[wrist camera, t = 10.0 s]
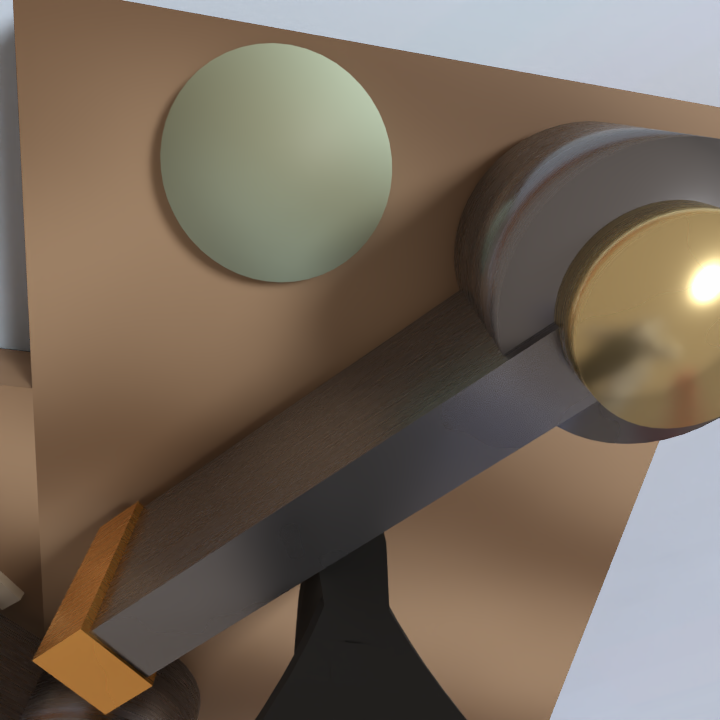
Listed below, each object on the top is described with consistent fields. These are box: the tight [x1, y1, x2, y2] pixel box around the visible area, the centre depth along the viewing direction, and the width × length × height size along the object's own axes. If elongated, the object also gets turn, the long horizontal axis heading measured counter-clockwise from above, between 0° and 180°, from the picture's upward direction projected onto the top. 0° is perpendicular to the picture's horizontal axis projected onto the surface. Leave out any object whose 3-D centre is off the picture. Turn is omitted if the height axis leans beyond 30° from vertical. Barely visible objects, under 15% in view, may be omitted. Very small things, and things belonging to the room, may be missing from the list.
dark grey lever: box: [32, 121, 720, 715], centre depth 10 cm, size 12×4×4 cm, turn 126°
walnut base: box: [0, 0, 720, 720], centre depth 13 cm, size 17×16×2 cm
